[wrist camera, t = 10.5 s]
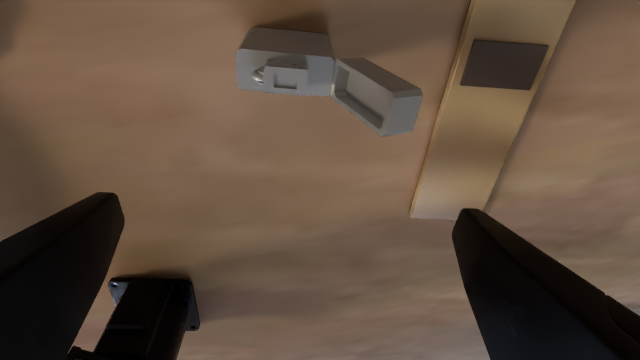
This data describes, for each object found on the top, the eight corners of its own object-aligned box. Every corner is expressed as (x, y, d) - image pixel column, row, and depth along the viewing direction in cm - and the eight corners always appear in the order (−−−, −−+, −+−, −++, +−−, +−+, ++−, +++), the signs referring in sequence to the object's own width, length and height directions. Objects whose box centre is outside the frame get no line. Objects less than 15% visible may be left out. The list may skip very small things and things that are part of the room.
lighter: (249, 60, 19) (219, 126, 12) (249, 26, 18) (216, 77, 11) (379, 72, 20) (415, 141, 13) (385, 39, 19) (428, 96, 12)
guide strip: (475, 216, 26) (479, 223, 25) (408, 213, 26) (411, 220, 25) (666, -225, 13) (683, -233, 13) (541, -243, 13) (552, -252, 12)
